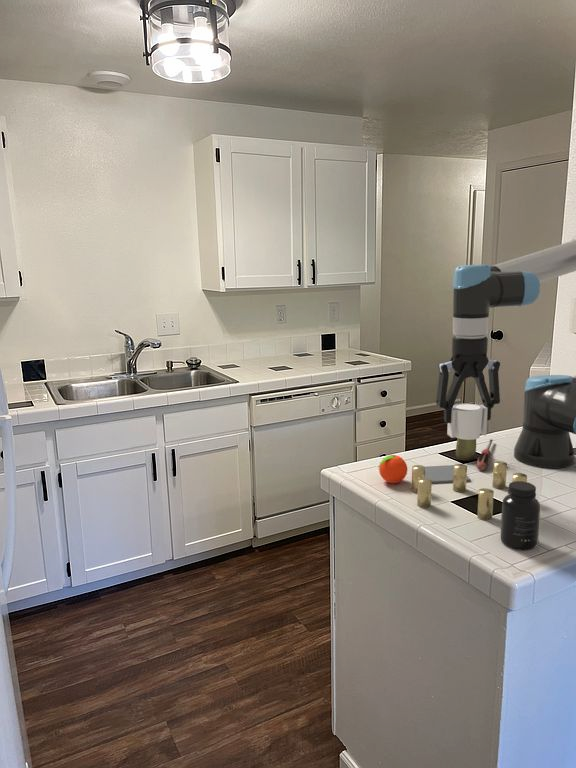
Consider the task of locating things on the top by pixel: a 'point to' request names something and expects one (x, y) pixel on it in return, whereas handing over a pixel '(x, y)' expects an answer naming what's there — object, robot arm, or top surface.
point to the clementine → (393, 469)
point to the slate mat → (441, 474)
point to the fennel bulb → (465, 449)
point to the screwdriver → (484, 457)
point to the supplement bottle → (520, 516)
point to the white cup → (468, 421)
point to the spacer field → (463, 486)
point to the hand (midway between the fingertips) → (466, 434)
